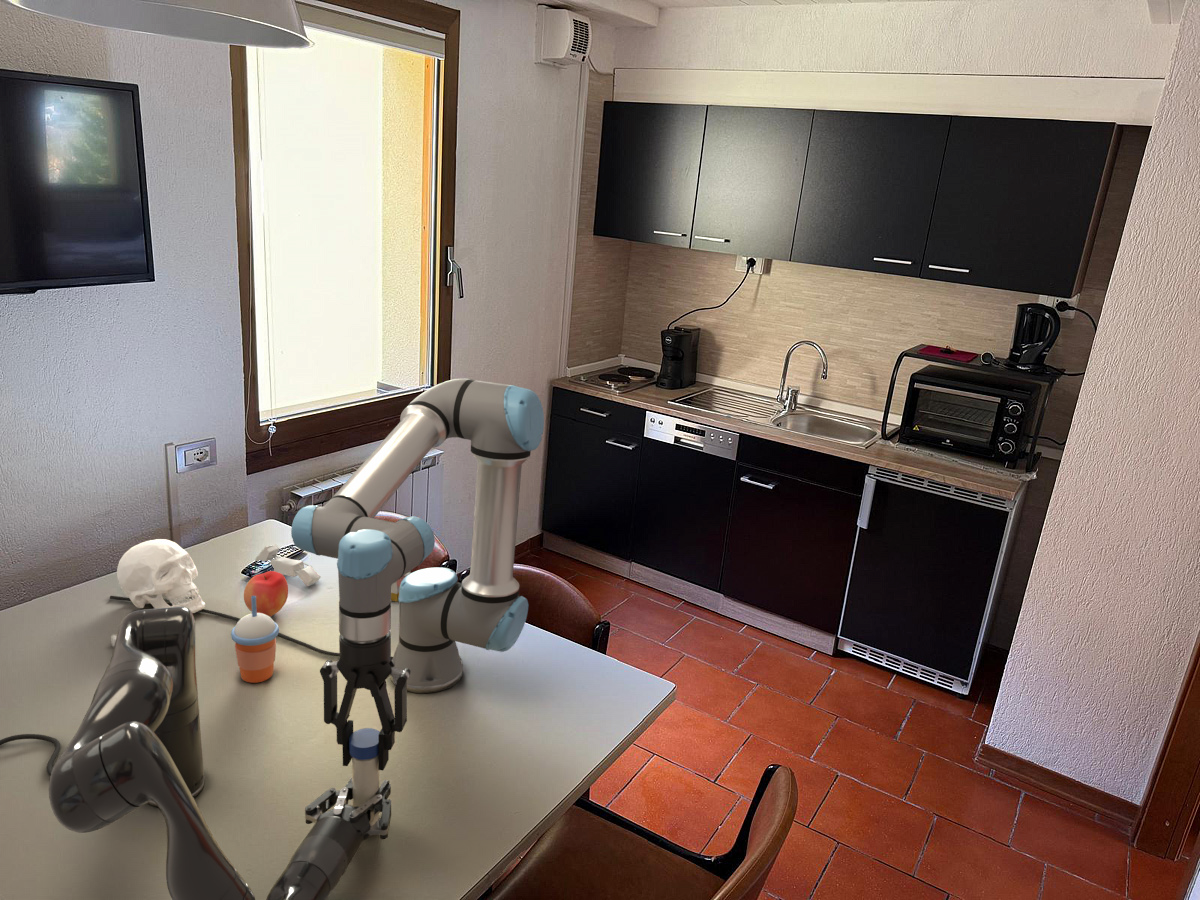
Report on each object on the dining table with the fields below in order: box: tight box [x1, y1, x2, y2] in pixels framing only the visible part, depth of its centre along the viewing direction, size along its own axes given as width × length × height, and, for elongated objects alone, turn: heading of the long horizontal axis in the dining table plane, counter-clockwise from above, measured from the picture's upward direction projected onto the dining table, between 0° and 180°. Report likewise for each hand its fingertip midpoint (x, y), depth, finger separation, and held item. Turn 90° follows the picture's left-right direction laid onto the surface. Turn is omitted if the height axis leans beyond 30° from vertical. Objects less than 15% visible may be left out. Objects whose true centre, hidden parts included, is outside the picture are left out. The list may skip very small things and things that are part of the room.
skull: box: [116, 538, 206, 614], centre depth 199 cm, size 13×22×16 cm, turn 73°
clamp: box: [254, 544, 322, 587], centre depth 219 cm, size 20×4×7 cm, turn 62°
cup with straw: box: [230, 596, 280, 684], centre depth 174 cm, size 9×9×18 cm
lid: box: [349, 727, 381, 760], centre depth 134 cm, size 5×5×2 cm
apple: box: [243, 570, 289, 618], centre depth 199 cm, size 10×10×10 cm
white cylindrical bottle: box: [351, 756, 380, 837], centre depth 136 cm, size 4×4×16 cm
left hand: (373, 782), depth 139 cm, fingers closed on white cylindrical bottle, 4 cm apart
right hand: (365, 762), depth 135 cm, fingers closed on lid, 5 cm apart
